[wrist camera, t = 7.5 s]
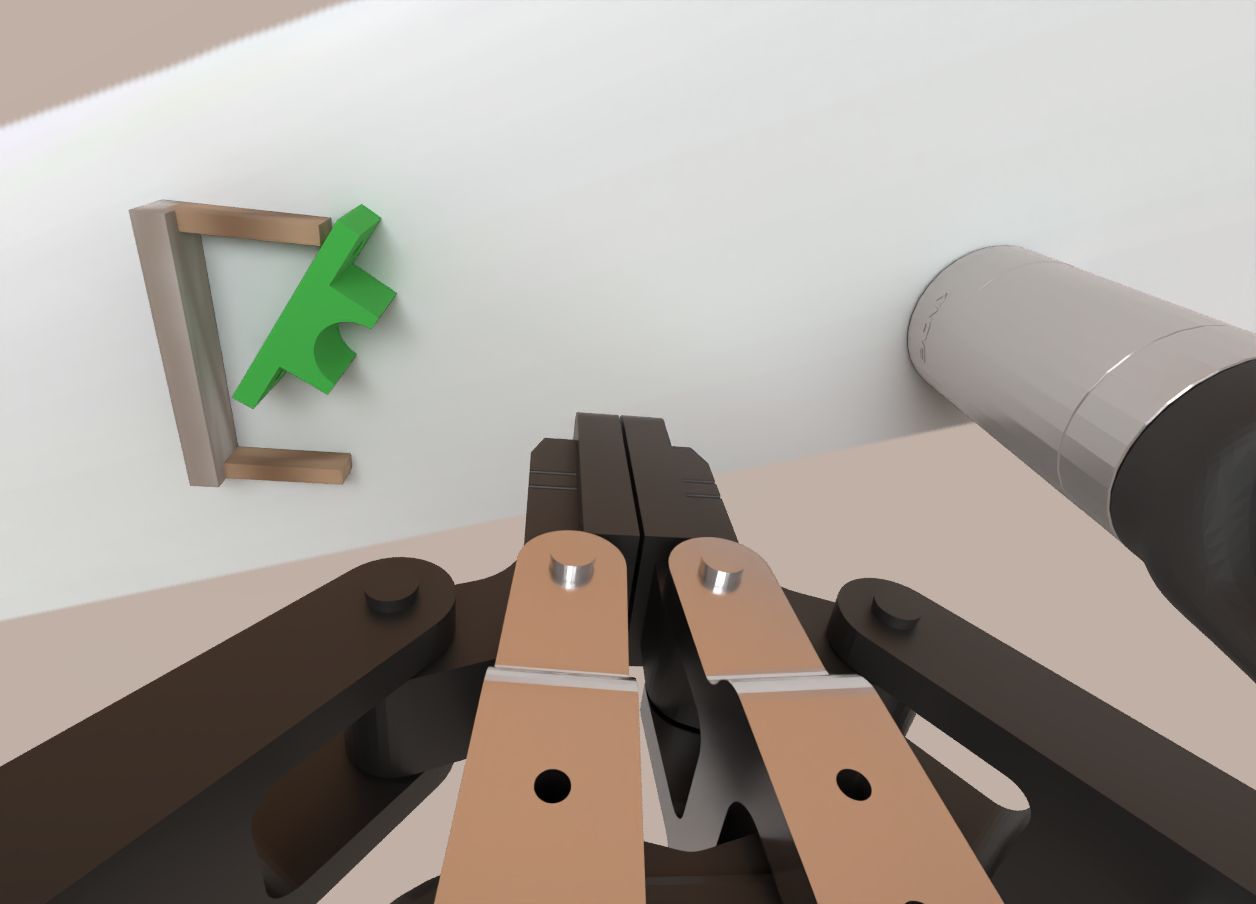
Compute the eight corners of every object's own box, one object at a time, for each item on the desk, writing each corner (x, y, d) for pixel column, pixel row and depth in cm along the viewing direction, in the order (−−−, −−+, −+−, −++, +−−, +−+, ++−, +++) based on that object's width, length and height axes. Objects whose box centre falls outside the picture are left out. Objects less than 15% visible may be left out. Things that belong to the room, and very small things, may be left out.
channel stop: (330, 217, 34) (311, 229, 32) (351, 467, 42) (338, 493, 39) (162, 199, 33) (128, 210, 31) (213, 459, 40) (190, 485, 38)
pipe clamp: (326, 399, 40) (300, 436, 36) (265, 363, 38) (230, 398, 34) (426, 248, 36) (409, 270, 32) (362, 202, 34) (336, 219, 30)
